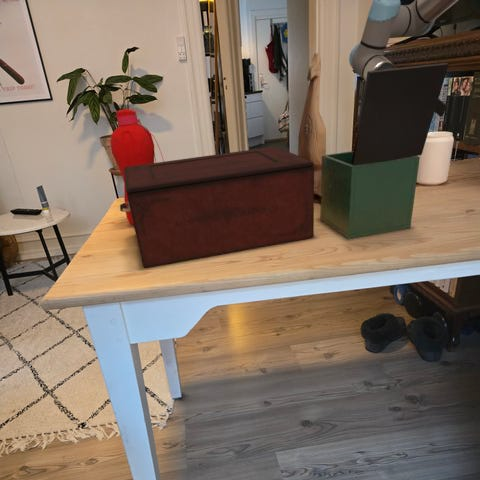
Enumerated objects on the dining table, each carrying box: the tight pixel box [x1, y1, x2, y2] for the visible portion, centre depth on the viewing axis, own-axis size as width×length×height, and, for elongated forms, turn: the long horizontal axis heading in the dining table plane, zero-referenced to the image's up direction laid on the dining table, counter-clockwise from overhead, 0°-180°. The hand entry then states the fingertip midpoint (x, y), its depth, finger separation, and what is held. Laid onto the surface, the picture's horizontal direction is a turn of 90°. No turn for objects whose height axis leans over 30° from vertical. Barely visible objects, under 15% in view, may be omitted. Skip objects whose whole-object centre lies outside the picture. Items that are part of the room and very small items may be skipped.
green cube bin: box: [320, 150, 420, 240], centre depth 84 cm, size 14×14×14 cm
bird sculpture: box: [297, 52, 327, 198], centre depth 100 cm, size 11×12×32 cm
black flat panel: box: [351, 62, 450, 165], centre depth 69 cm, size 15×14×1 cm
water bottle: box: [109, 108, 165, 226], centre depth 96 cm, size 9×11×25 cm
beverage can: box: [416, 131, 455, 186], centre depth 107 cm, size 8×8×12 cm
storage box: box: [119, 146, 315, 269], centre depth 85 cm, size 39×23×15 cm, turn 105°
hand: (421, 112), depth 104 cm, fingers open, 13 cm apart
